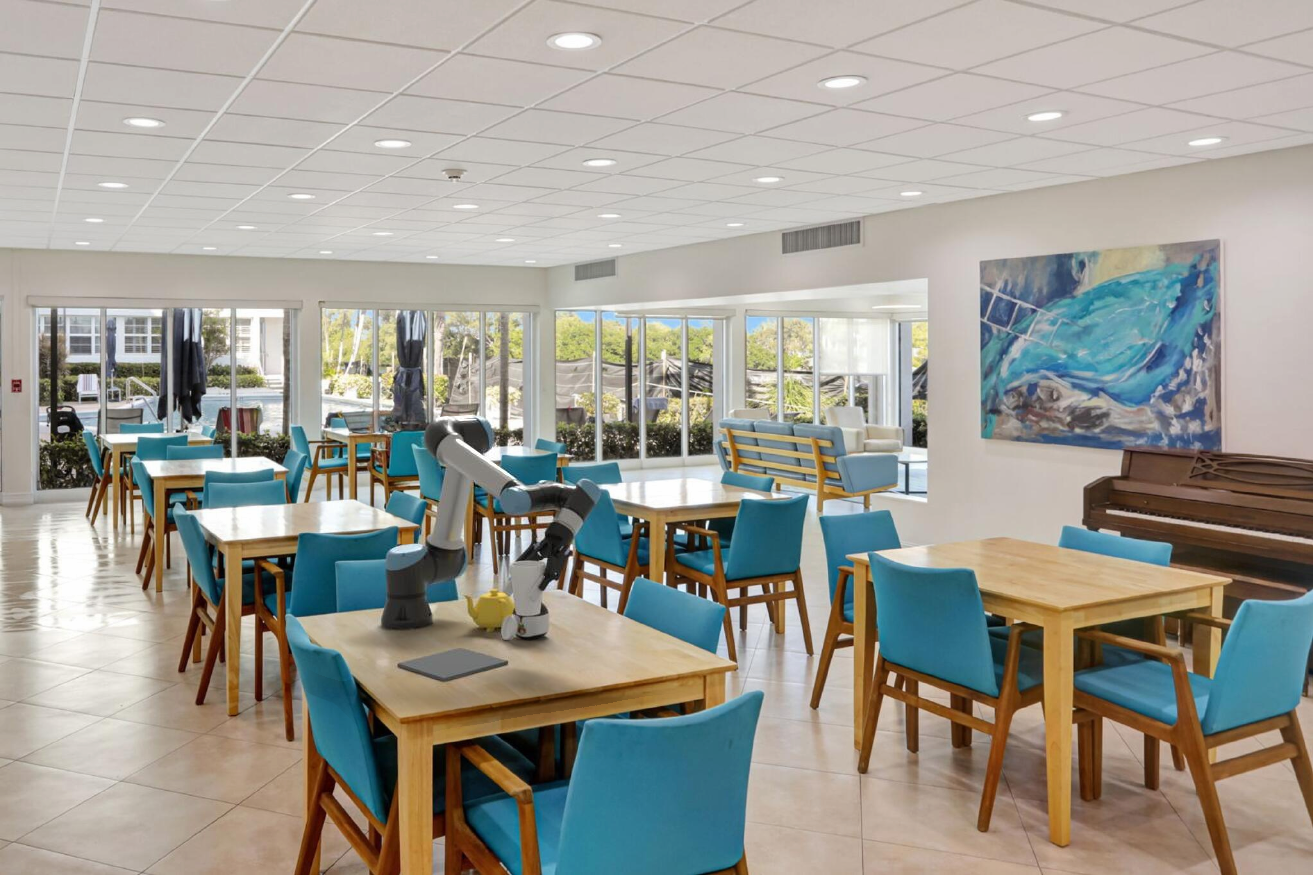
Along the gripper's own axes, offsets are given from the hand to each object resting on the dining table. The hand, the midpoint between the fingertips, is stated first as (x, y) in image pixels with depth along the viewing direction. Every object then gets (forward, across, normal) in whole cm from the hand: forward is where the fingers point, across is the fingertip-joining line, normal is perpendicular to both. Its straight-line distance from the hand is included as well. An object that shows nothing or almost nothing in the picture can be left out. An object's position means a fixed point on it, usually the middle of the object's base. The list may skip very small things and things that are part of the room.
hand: (518, 596), depth 267 cm
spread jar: (+1, +17, -24) cm, 29 cm away
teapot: (0, +32, -25) cm, 41 cm away
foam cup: (+1, 0, -6) cm, 6 cm away
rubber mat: (+22, +10, -2) cm, 24 cm away
